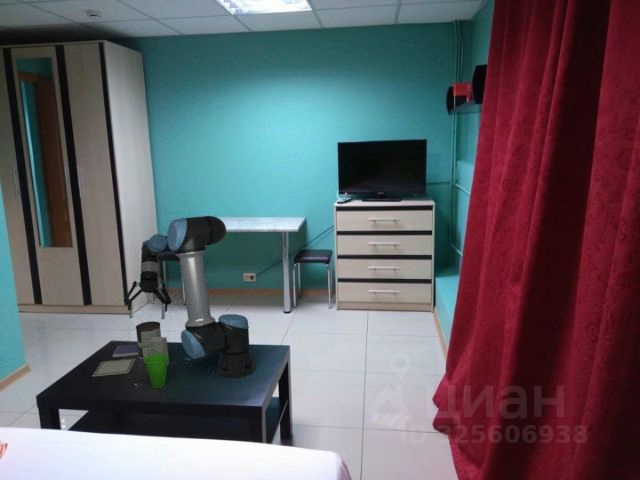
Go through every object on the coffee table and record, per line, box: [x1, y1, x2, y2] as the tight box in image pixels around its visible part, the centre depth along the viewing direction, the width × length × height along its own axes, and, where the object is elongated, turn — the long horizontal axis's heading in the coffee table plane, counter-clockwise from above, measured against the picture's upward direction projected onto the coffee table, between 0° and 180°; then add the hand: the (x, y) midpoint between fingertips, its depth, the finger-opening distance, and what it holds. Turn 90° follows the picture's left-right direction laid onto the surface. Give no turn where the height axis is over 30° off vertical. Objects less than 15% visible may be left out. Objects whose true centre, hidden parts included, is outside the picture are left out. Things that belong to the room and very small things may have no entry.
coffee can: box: [135, 320, 162, 360], centre depth 207 cm, size 10×10×14 cm
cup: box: [143, 354, 170, 389], centre depth 179 cm, size 9×9×11 cm
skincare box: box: [149, 336, 170, 366], centre depth 196 cm, size 6×4×12 cm
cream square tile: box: [92, 357, 136, 377], centre depth 196 cm, size 14×14×1 cm
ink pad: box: [112, 343, 139, 358], centre depth 213 cm, size 11×11×1 cm
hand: (147, 318), depth 204 cm, fingers open, 13 cm apart
